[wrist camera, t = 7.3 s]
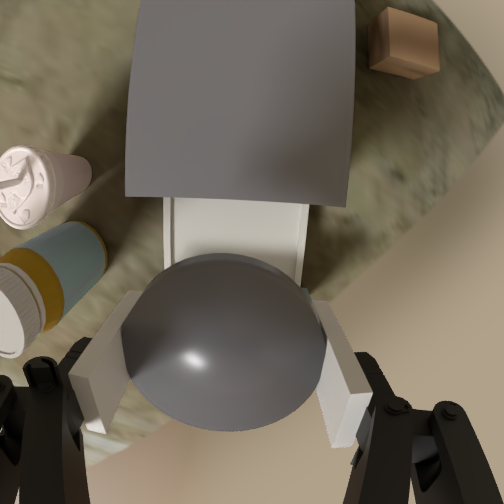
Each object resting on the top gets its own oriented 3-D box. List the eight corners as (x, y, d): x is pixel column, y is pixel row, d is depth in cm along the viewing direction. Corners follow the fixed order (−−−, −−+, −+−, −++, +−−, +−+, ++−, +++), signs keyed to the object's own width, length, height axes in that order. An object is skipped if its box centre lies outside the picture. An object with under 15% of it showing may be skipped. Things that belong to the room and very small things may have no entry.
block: (368, 24, 24) (387, 6, 19) (412, 36, 24) (436, 23, 19) (368, 68, 25) (389, 56, 20) (413, 79, 25) (439, 71, 21)
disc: (144, 400, 14) (136, 421, 13) (125, 247, 12) (110, 260, 11) (303, 409, 15) (307, 432, 13) (331, 258, 12) (342, 273, 11)
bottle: (110, 222, 29) (19, 282, 15) (110, 288, 31) (39, 375, 17) (53, 216, 29) (-47, 264, 15) (56, 277, 31) (-26, 348, 17)
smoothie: (114, 157, 27) (23, 169, 14) (90, 217, 29) (2, 265, 16) (64, 133, 26) (-35, 135, 13) (44, 190, 28) (-51, 222, 15)
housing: (169, 4, 23) (148, -35, 15) (328, 12, 23) (353, -25, 16) (155, 183, 28) (125, 196, 21) (319, 192, 29) (345, 207, 21)
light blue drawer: (160, 105, 26) (133, 92, 19) (323, 113, 26) (348, 102, 19) (159, 293, 31) (139, 332, 24) (305, 300, 32) (320, 341, 25)
